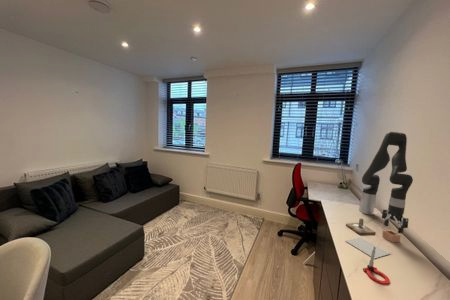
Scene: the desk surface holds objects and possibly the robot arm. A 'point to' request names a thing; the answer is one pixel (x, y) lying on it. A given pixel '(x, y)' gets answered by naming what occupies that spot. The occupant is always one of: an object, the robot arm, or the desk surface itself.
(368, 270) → the tow hook
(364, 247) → the grey flat panel
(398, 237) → the collar
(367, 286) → the desk surface
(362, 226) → the post stand
